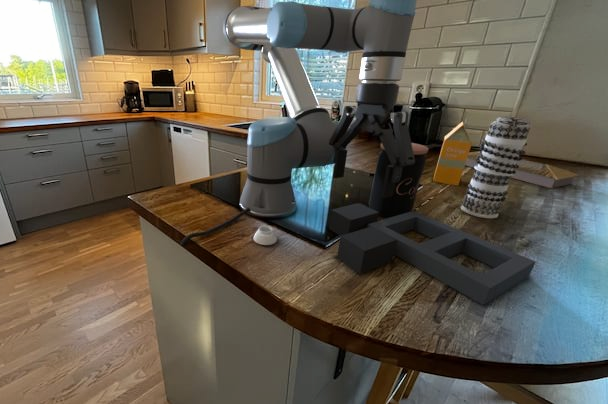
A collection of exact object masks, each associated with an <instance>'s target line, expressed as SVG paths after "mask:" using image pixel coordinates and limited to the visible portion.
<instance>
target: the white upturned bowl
mask: <svg viewBox="0 0 608 404" xmlns="http://www.w3.org/2000/svg"><path fill="white" fill-rule="evenodd" d="M273 229H274V228H273V227H272V226H271V225H261V226H258V229H256V231H255V233H254V235H253V241H254V242H255V243H256V244H259V245H262V246H271V245H274V244H275V243H276V242H277V240H278V237H277V235H276V233H275V231H274V230H273Z"/></svg>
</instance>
